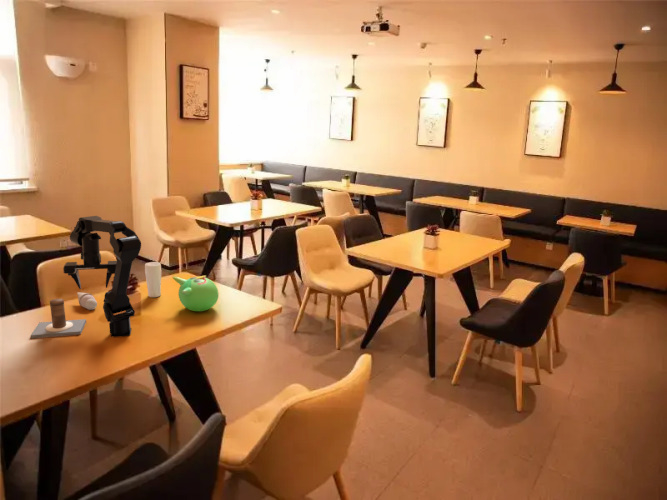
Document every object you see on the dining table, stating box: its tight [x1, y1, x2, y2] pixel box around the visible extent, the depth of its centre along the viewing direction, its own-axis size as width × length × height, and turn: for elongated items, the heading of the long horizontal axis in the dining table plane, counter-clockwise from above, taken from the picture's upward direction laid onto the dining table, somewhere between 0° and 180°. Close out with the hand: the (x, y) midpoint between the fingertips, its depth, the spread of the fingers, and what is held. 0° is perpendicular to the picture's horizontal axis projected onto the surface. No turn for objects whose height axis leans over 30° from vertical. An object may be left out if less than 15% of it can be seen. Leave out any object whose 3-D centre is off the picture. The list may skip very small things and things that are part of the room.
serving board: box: [30, 318, 87, 339], centre depth 183 cm, size 16×12×2 cm
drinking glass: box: [144, 261, 162, 298], centre depth 220 cm, size 7×7×15 cm
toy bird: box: [172, 275, 219, 312], centre depth 206 cm, size 18×17×15 cm
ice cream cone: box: [76, 291, 98, 311], centre depth 206 cm, size 6×6×15 cm
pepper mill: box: [49, 298, 66, 328], centre depth 181 cm, size 4×4×10 cm
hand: (93, 288), depth 189 cm, fingers open, 9 cm apart
